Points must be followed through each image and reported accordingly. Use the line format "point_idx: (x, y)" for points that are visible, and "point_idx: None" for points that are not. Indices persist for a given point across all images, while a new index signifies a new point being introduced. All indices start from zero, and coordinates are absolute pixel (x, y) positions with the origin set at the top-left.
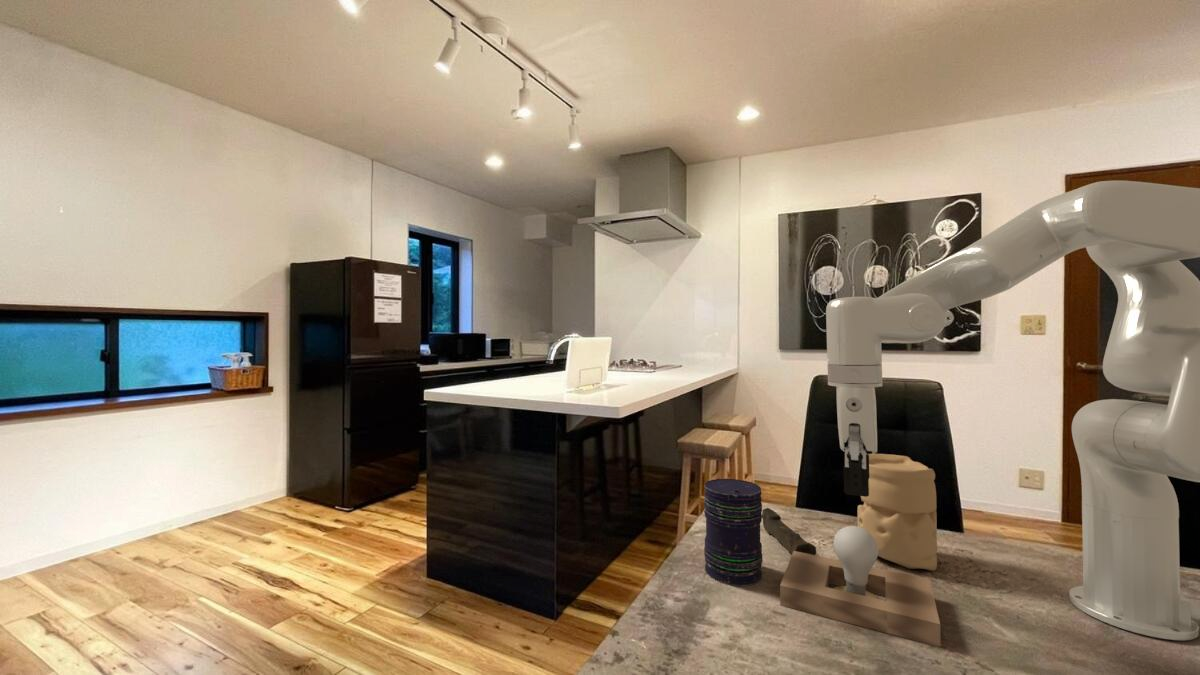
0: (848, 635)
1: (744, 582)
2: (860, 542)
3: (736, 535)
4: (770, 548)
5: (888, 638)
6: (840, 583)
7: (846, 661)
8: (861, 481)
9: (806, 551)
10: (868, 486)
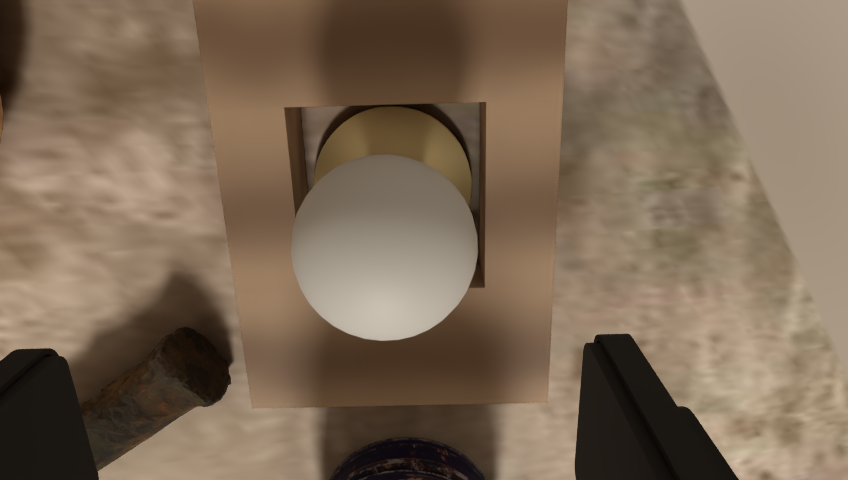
0: (612, 191)
1: (475, 471)
2: (458, 242)
3: None
4: (164, 455)
5: (575, 88)
6: None
7: (744, 187)
8: (720, 459)
9: (197, 368)
10: (652, 376)
